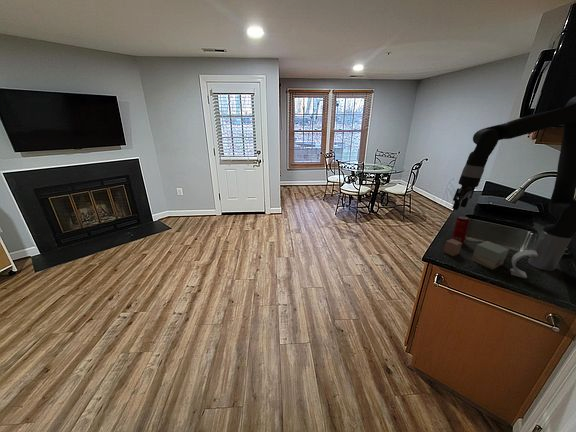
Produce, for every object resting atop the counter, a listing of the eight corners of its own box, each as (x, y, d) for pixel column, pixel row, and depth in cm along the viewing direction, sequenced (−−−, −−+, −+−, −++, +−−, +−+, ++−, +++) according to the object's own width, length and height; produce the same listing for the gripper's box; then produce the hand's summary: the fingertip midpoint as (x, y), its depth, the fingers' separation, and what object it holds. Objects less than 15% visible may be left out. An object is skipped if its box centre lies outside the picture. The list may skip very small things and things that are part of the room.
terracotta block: (448, 249, 125) (452, 238, 122) (458, 254, 121) (462, 243, 118) (442, 251, 123) (446, 240, 120) (452, 256, 119) (456, 245, 116)
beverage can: (465, 244, 130) (474, 220, 125) (452, 243, 131) (460, 218, 126) (460, 239, 136) (468, 215, 130) (448, 238, 137) (455, 214, 131)
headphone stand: (526, 278, 103) (538, 255, 98) (508, 273, 106) (518, 250, 101) (524, 273, 106) (535, 250, 102) (507, 268, 109) (517, 246, 105)
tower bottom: (480, 256, 120) (483, 248, 118) (501, 265, 112) (505, 257, 111) (470, 260, 116) (473, 252, 114) (492, 269, 109) (495, 261, 107)
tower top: (484, 248, 118) (487, 240, 116) (505, 257, 110) (509, 249, 109) (473, 252, 114) (477, 244, 112) (495, 261, 107) (499, 253, 105)
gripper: (474, 178, 100) (461, 213, 107) (487, 175, 108) (473, 208, 114) (455, 174, 106) (443, 207, 112) (468, 172, 113) (457, 203, 120)
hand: (458, 208), depth 113 cm, fingers open, 8 cm apart
